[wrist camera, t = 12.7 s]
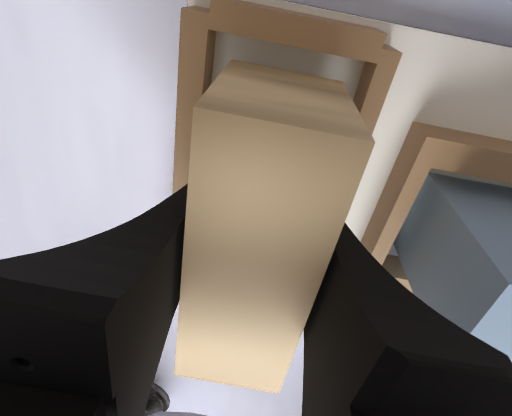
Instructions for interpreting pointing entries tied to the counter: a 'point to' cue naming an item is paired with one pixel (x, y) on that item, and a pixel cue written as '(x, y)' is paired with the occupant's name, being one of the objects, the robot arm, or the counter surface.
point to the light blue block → (462, 255)
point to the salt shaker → (157, 401)
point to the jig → (366, 98)
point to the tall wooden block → (262, 218)
